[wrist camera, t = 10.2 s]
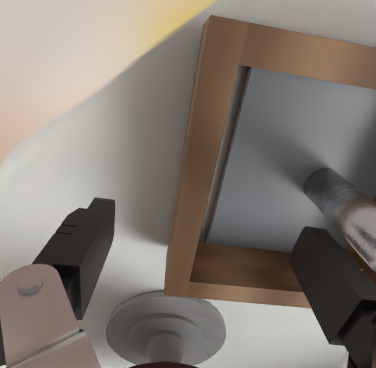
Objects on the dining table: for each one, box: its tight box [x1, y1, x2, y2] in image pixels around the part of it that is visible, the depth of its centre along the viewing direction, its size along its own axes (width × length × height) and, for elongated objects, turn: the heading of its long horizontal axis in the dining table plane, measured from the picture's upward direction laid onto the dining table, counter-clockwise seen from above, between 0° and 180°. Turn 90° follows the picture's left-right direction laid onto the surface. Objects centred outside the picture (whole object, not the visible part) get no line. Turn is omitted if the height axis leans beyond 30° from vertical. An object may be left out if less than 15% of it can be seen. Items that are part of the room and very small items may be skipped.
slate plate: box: [206, 67, 376, 252], centre depth 18 cm, size 14×14×1 cm
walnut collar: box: [164, 15, 376, 308], centre depth 16 cm, size 16×16×4 cm
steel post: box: [304, 168, 376, 271], centre depth 15 cm, size 2×2×7 cm
